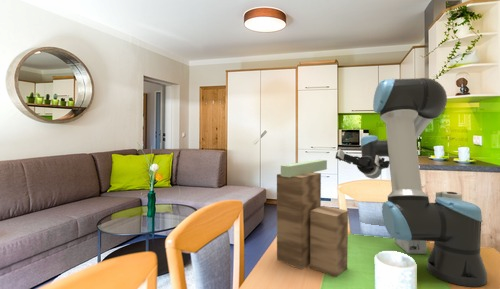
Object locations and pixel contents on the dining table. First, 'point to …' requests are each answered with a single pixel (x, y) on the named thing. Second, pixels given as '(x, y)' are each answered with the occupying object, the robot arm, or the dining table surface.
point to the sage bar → (303, 168)
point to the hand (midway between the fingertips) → (356, 155)
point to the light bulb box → (412, 246)
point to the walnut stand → (310, 226)
